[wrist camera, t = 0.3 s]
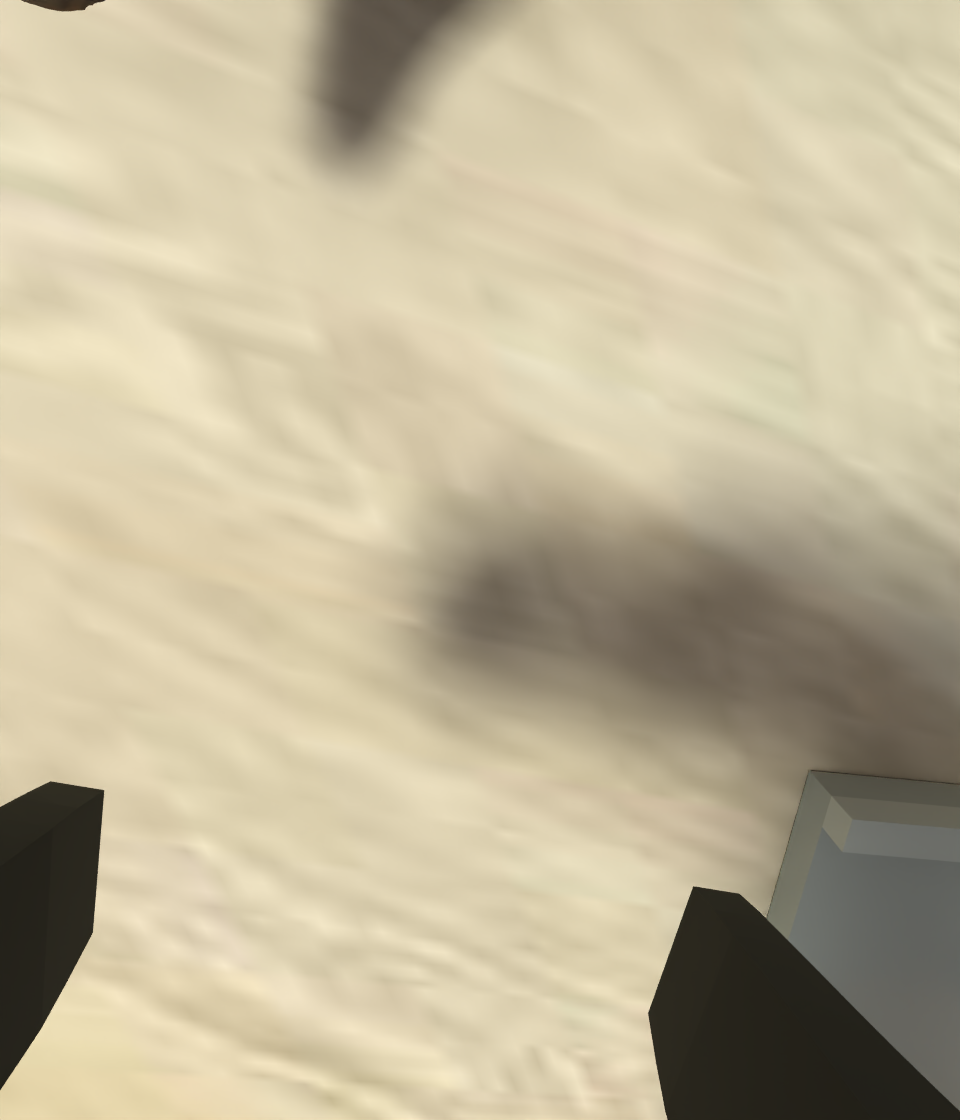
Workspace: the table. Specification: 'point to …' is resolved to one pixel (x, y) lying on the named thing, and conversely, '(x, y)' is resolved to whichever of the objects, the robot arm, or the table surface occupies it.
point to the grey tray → (882, 908)
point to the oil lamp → (63, 4)
